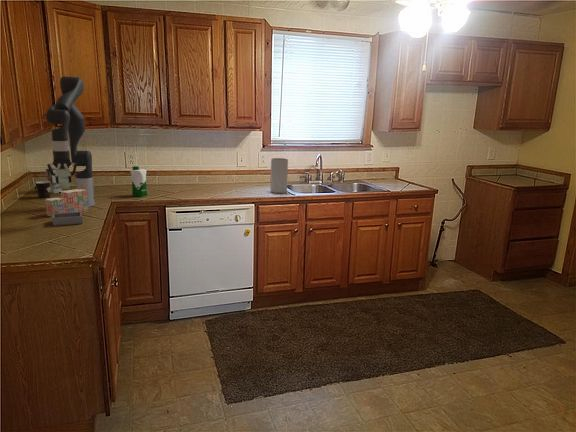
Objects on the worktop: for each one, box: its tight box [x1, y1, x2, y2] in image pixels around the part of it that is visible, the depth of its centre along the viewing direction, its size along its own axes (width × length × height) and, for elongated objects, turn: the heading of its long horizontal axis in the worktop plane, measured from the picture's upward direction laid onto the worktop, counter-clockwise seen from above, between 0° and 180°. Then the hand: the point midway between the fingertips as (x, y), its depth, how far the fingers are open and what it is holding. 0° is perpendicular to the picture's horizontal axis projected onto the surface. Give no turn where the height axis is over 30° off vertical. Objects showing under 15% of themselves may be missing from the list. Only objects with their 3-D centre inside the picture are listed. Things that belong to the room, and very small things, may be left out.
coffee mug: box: [34, 180, 51, 199], centre depth 275 cm, size 12×9×10 cm
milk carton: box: [129, 165, 148, 198], centre depth 290 cm, size 9×9×20 cm
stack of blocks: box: [44, 188, 89, 218], centre depth 240 cm, size 21×6×12 cm, turn 148°
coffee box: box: [45, 167, 63, 194], centre depth 293 cm, size 9×6×16 cm
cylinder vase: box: [270, 157, 289, 194], centre depth 321 cm, size 12×12×25 cm
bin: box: [51, 211, 83, 227], centre depth 221 cm, size 10×13×4 cm
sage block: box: [58, 169, 70, 190], centre depth 219 cm, size 5×4×10 cm
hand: (63, 183), depth 219 cm, fingers closed on sage block, 4 cm apart
